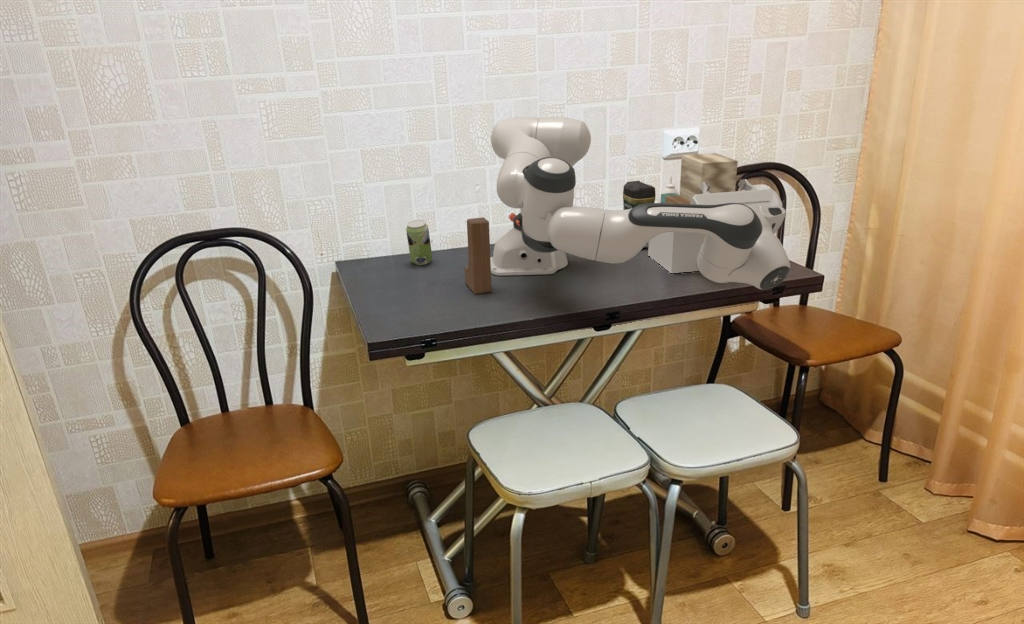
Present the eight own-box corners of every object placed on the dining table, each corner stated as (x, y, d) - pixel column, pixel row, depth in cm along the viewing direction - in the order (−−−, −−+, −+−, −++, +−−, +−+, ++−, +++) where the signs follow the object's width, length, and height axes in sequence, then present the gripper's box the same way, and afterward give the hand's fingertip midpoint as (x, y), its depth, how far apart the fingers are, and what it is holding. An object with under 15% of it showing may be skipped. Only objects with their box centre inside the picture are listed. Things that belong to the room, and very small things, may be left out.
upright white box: (671, 274, 194) (674, 217, 188) (648, 256, 208) (650, 203, 203) (700, 271, 195) (704, 215, 190) (674, 254, 210) (678, 201, 204)
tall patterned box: (695, 258, 206) (702, 163, 196) (676, 245, 218) (681, 155, 208) (729, 254, 208) (737, 161, 198) (708, 242, 220) (715, 152, 210)
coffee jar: (617, 242, 221) (618, 180, 214) (640, 239, 224) (643, 177, 217) (633, 251, 213) (635, 186, 206) (657, 248, 215) (660, 184, 208)
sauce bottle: (686, 235, 227) (690, 176, 220) (667, 239, 223) (670, 179, 216) (668, 229, 233) (671, 172, 226) (649, 233, 229) (652, 175, 223)
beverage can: (434, 259, 210) (431, 217, 206) (429, 267, 204) (426, 224, 199) (412, 259, 211) (409, 217, 207) (406, 267, 204) (403, 224, 200)
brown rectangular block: (695, 229, 181) (697, 213, 180) (660, 208, 201) (661, 193, 200) (711, 228, 182) (712, 212, 181) (674, 207, 202) (675, 192, 201)
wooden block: (465, 283, 191) (461, 214, 184) (481, 281, 192) (479, 212, 186) (474, 294, 183) (471, 223, 177) (492, 292, 184) (489, 221, 178)
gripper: (698, 239, 164) (677, 196, 172) (782, 231, 168) (758, 190, 176) (706, 218, 159) (684, 175, 167) (793, 211, 163) (767, 169, 171)
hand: (723, 182), depth 172 cm, fingers open, 8 cm apart
